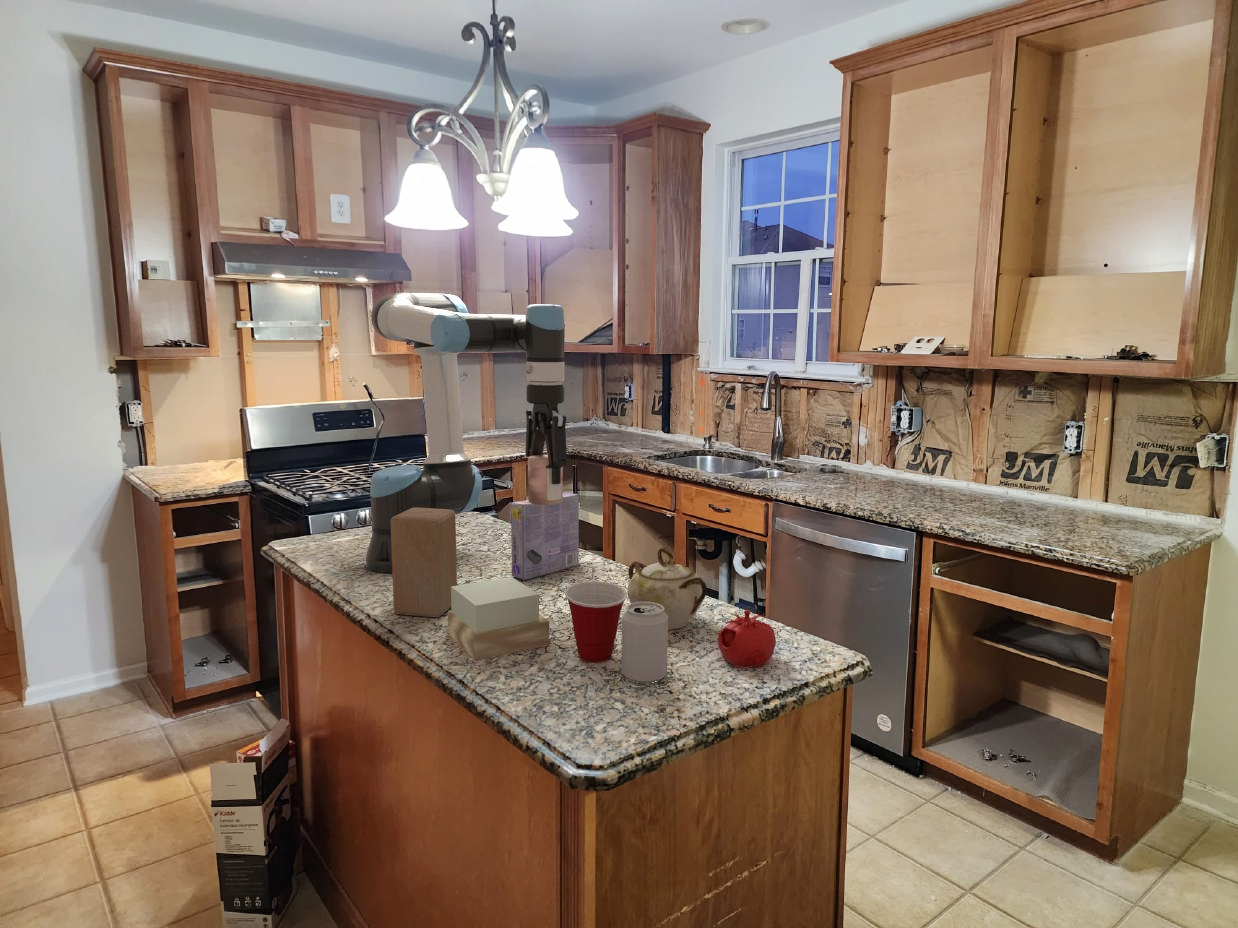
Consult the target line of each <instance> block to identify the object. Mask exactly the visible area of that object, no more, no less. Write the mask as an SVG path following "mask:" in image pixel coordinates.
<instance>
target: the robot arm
mask: <svg viewBox="0 0 1238 928" xmlns="http://www.w3.org/2000/svg"><path fill="white" fill-rule="evenodd" d="M564 311H565V310H564V308H563V307H562V306H561V305H559V304H542V303H541V304H539V303H537V304H529V305H527V306H526V310H525V314H491V313H490V314H486V313H485V314H481V313H480V314H479V313H478V314H477V313H469V311H468V308H467V306H466V304H465V303H464V301H462V299H461V298H460V297H459V296H457V295H454V294H446V293H441V292H440V293H436V292H435V293H433V292H431V293H430V292H429V293H428V292H427V293H426V292H401V291H400V292H399V291H398V292H393V293H387V295H386V294H385V295H384V296H382V297H381V298H379V299H378V300H377V301H376V302H375V303H374V305H373V306H372V309H371V313H370V321H371V325H372V327H373V329H374V331H375V332H376V333H377V334H378V335H379V336H380V337H382V338H384V339H386V340H390V341H394V342H399V343H400V342H402V343H413V349H414V352H415V353H416V354H418V356H419V357H420V360H421V361H420V362H421V371H422V372H421V373H422V383H423V398H424V409H425V422H426V435H427V436H426V437H427V448H428V455H427V457H426V458H425V459H424V460H423V462H422V464H423V465H422V466H423V469H421V467H420V466H419V465H416V464H403V465H401V464H400V465H395V466H389V467H386V468H383V469H380V470H378V471H376V472H375V473H373V475H372V476H371V478H370V491H369V496H370V509H371V512H370V513H371V536H370V537H371V538H370V541H369V545H368V547H367V551H366V555H365V568H366V569H368V570H370V571H372V572H378V573H387V574H388V573H389V574H390V573H391V574H392V546H391V519H392V517H394V516H396V515H398V514H400V513H402V512H404V511H407V510H409V509H411V508H414V507H416V508H433V509H450V510H453V511H455V515H459V514H461V513H465V512H466V513H467V512H471V511H472V510H474V509H475V508H476V507H477V505H478V503H479V502H480V500H481V498H482V497H481V496H482V492H483V478H482V475H481V474H480V472H481V471H480V470H479V468H478V467H477V466H475V465H473V464H472V459H471V457H470V456H469V455H467V454H466V453H465V446H464V445H465V444H464V436H463V421H462V420H463V419H462V407H461V393H460V379H459V368H458V365H459V364H458V355H459V353H471V352H472V353H479V352H480V353H481V352H483V353H526V355H525V356H526V359H525V360H526V366H525V367H524V370H525V371H526V381H527V382H529V384H527V385H526V402H527V403H528V404H531V405H532V404H533V407H532V409H526V411H525V417H526V429H525V431H526V433H525V451H524V452H525V454H524V455H525V457H527V458H528V457H530V456H535V455H544V449H545V446H546V455H548V461H549V465H547V466H546V468H547V500H558V499H561V467H563V468H564V467H565V466H567V464H568V456H567V454H568V453H567V452H568V451H567V436H566V425H567V416H566V415H561V414H560V412H559V406H558V405H559V404H564V402H565V385H564V384H562V383H563V382H564V381H565V334H566V333H565V331H566V329H565V328H566V324H565V314H564Z"/></svg>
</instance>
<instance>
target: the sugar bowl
mask: <svg viewBox="0 0 1238 928" xmlns="http://www.w3.org/2000/svg"><path fill="white" fill-rule="evenodd" d="M662 553H664V554H665V555H667V557H668V559H669V560H663V556H662V555H663V554H662ZM657 558H658V562H655V563H652V564H651V563H650V564H649V565H646V564H645V563H642V562H638V561H633V562H631V563H630V565H629V567H628V572H627V573H628V578H629V582H628V584H627V590H626V592H627V598H628V600H629V602H630V604H632V603H635V602H654V603H658V604H660V605H662V606H663V607H664V608H665V609H664V612H665V613H666V614H667V616H668V631H670V630H671V631H673V630H679V629H682V628H684V627H686V626H687V625H688V623H689V622H690V620H691V619H692V618H694V616H695V614H696V613H697V611H698V610H699V609H700V607H701V606H702V603H703V602H704V600H705V599H706V596H707V592H708V591H707V590H708V588H707V584H706V583H705V581H704V579H703V578H702V577H699V575H697V574H696V573H695V570H693V569H692V568H691V567H688V566H684V565H682V564H678V563H676V562H675V560H674V555H673V554H672V552H671V551H670V550H669V549H668V548H666V547H661V548H660V549H659V550H658V551H657ZM634 569H635V570H634Z"/></svg>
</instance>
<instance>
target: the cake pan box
mask: <svg viewBox="0 0 1238 928" xmlns="http://www.w3.org/2000/svg"><path fill="white" fill-rule="evenodd" d="M579 498H580V497H579V494H577V493H563V502H561V503H558V504H551V505H538V504H532V503H529V502H528V499H526V500H520V501H514V502H510V522H511V523H510V525H511V526H510V528H511V529H510V531H511V532H510V533H511V534H510V535H511V577H512V578H515V579H519V580H521V581H524V582H525V581H527V580H531V579H534V578H538V577H540V576H541V577H542V576H547V575H549V574H553V573H557V572H560V571H563V570H566V569H571V568H572V567H577V566H579V564H580V561H579V560H580V559H579V558H580V557H579V555H580V553H579V552H580V550H579V549H580V546H579V541H580V537H579V536H580V535H579V533H580V531H579V526H580V525H579V524H580V523H579V522H580V521H579V520H580V519H579V516H580V514H579V513H580V512H579V511H580V510H579V508H580V507H579V502H580V499H579Z"/></svg>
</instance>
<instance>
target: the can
mask: <svg viewBox="0 0 1238 928" xmlns="http://www.w3.org/2000/svg"><path fill="white" fill-rule="evenodd" d="M625 609H626V611H624V613H623V614H622V616H621V618H622V619H621V621H622V622H621V674H622V675H623V676H624V677H625V678H626V679H627V678H628V679H629V680H628V679H627V680H628V681H630V680H631V681H634V682H638V683H652V682H655V681H658V682H660V681H661V680H662V679H664V678H665V677H666V675H667V674H668V648H669V647H668V643H669V640H668V638H669V637H668V636H669V630H668V616H667V614H666V613H665V612H664V609H665V608H664V607H663V606H662V605H660V604H658V603H654V602H635V603H632V604H631V603H630V604H627V606H626V608H625ZM659 680H660V681H659ZM631 681H630V682H631ZM634 682H633V683H634ZM638 683H637V684H638Z"/></svg>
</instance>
